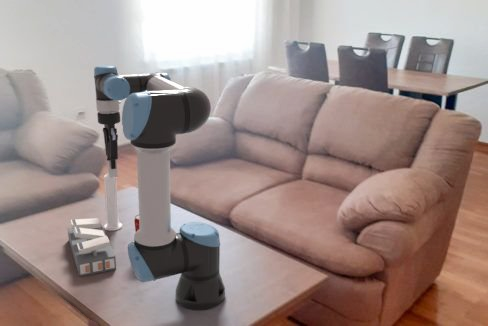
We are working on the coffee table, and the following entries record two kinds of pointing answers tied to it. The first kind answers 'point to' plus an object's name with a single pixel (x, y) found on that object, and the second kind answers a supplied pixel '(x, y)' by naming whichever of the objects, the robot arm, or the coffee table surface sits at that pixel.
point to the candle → (111, 204)
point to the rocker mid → (88, 233)
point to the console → (91, 256)
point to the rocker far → (85, 223)
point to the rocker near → (93, 244)
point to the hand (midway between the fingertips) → (113, 176)
